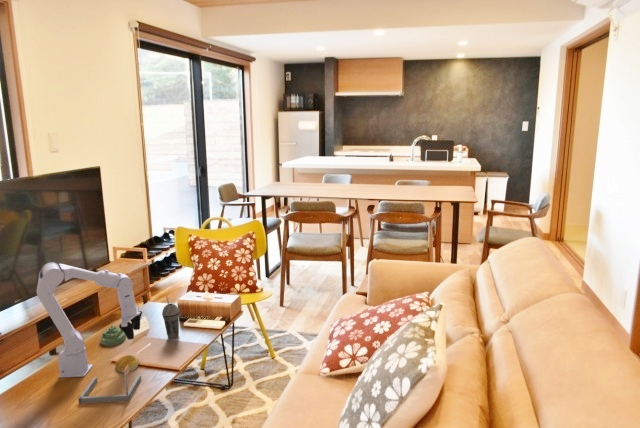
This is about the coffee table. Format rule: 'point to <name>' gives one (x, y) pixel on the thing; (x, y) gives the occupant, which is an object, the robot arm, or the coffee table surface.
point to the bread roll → (127, 363)
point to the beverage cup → (171, 320)
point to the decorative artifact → (112, 336)
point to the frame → (109, 398)
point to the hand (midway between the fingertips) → (134, 334)
